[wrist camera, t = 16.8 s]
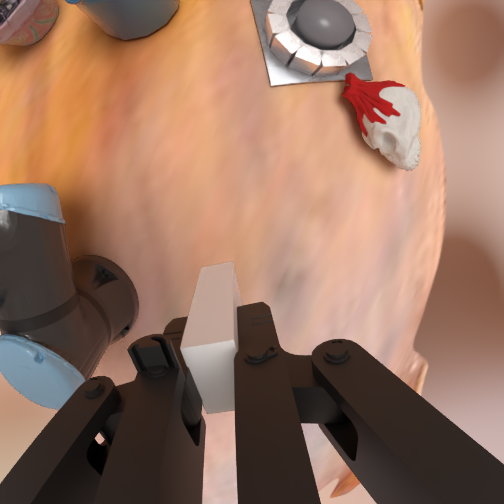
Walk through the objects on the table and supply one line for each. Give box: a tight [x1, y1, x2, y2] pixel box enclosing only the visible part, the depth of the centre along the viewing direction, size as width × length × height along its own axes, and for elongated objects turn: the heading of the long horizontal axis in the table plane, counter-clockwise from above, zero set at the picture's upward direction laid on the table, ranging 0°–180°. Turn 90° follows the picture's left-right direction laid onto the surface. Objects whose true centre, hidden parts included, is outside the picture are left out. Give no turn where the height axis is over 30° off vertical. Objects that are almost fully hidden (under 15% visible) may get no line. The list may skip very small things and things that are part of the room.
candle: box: [342, 72, 421, 171], centre depth 36 cm, size 9×11×15 cm
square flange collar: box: [250, 0, 373, 87], centre depth 33 cm, size 16×16×6 cm
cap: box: [291, 0, 354, 51], centre depth 32 cm, size 8×8×6 cm
